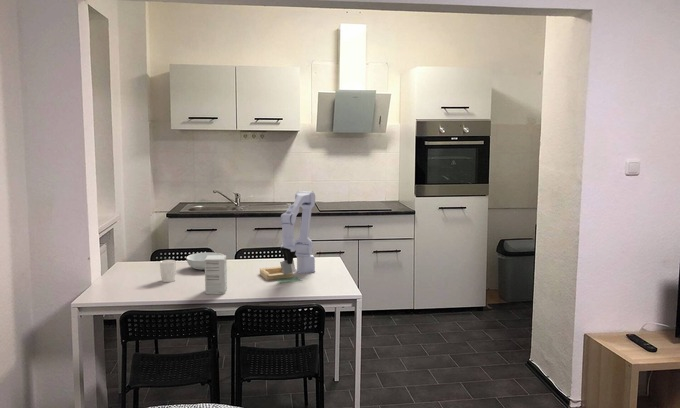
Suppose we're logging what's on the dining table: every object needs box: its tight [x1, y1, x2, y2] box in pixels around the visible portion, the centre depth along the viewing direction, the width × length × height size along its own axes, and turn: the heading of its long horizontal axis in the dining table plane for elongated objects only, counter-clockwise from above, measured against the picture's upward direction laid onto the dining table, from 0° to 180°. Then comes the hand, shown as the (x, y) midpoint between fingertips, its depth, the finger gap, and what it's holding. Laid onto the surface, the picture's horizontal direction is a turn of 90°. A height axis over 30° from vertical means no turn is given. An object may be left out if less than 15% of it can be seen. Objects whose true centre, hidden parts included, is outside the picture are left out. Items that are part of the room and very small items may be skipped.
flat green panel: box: [274, 276, 303, 284], centre depth 288 cm, size 12×9×1 cm
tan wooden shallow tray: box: [259, 265, 294, 281], centre depth 297 cm, size 14×17×3 cm
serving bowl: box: [185, 252, 224, 271], centre depth 315 cm, size 21×21×7 cm
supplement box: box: [204, 254, 228, 295], centre depth 267 cm, size 10×9×17 cm
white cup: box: [159, 259, 177, 283], centre depth 288 cm, size 8×8×10 cm
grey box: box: [279, 259, 296, 275], centre depth 287 cm, size 6×4×6 cm
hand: (288, 262), depth 287 cm, fingers closed on grey box, 4 cm apart
